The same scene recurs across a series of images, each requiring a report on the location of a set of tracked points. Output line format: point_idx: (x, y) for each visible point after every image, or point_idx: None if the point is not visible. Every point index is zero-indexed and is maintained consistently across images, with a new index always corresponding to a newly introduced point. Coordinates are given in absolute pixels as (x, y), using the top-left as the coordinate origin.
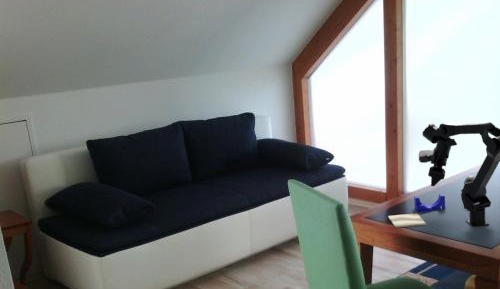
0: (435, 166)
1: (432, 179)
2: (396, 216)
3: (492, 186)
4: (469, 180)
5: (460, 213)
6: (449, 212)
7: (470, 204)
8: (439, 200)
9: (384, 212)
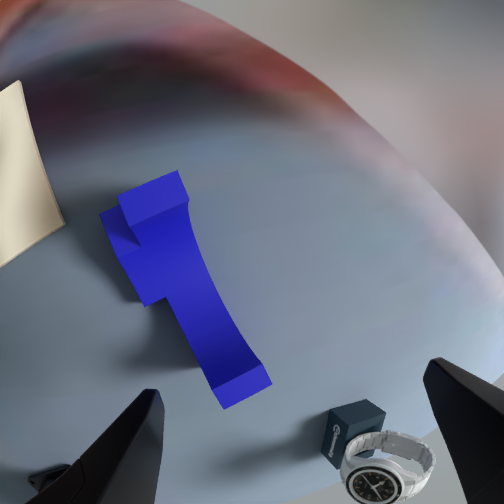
0: (492, 436)
1: (66, 487)
2: (7, 122)
3: None
4: (387, 487)
5: None
6: None
7: None
8: (211, 359)
9: (93, 43)
